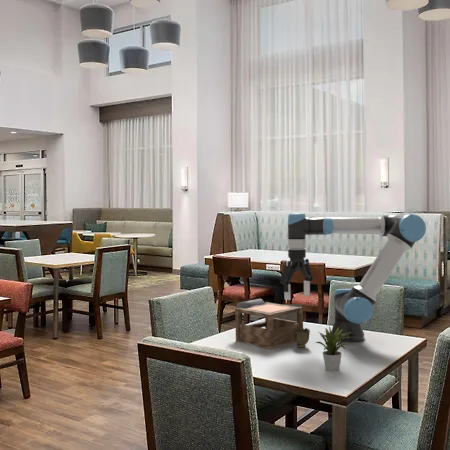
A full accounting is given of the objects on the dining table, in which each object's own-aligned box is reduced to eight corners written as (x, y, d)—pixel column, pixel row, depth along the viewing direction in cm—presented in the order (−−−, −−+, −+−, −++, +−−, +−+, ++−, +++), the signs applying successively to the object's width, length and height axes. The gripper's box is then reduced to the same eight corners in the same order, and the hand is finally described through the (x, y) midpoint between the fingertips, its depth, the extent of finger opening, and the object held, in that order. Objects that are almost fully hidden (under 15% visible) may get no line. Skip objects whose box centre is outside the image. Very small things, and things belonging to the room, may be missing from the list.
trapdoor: (292, 313, 257) (291, 303, 257) (269, 318, 247) (269, 307, 246) (257, 308, 273) (257, 298, 273) (235, 312, 263) (235, 302, 263)
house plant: (345, 378, 200) (344, 332, 199) (308, 373, 207) (307, 329, 206) (356, 367, 212) (355, 324, 212) (321, 363, 219) (320, 321, 218)
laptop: (298, 324, 291) (298, 299, 291) (302, 330, 279) (301, 304, 278) (264, 325, 291) (263, 300, 290) (266, 331, 278) (265, 305, 278)
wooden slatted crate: (303, 339, 257) (302, 307, 256) (270, 349, 242) (270, 314, 242) (268, 332, 273) (267, 302, 273) (235, 340, 258) (235, 308, 258)
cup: (291, 345, 247) (291, 327, 247) (307, 345, 248) (307, 327, 247) (294, 350, 240) (294, 331, 239) (311, 349, 240) (311, 330, 240)
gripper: (307, 246, 254) (307, 293, 254) (271, 250, 236) (272, 300, 237) (321, 247, 248) (321, 294, 249) (285, 251, 231) (285, 302, 232)
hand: (297, 297), depth 243 cm, fingers open, 13 cm apart
